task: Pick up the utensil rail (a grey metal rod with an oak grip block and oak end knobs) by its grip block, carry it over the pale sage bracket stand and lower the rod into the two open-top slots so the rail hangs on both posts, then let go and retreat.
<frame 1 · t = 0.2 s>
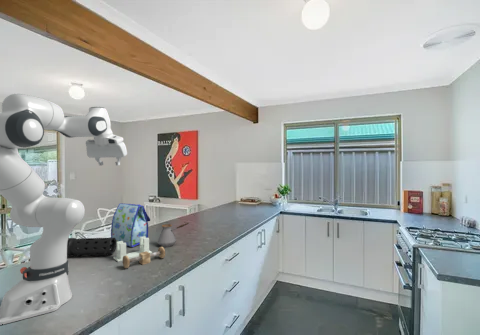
hand: (109, 165, 132), 52 cm above the counter, tool tilted 20°, fingers open, 8 cm apart
lunch bag: (130, 243, 168), on the counter
rail: (144, 262, 132), on the counter
brackets: (133, 255, 143), on the counter
black foam roller: (88, 256, 144), on the counter
coffee pot: (174, 245, 161), on the counter
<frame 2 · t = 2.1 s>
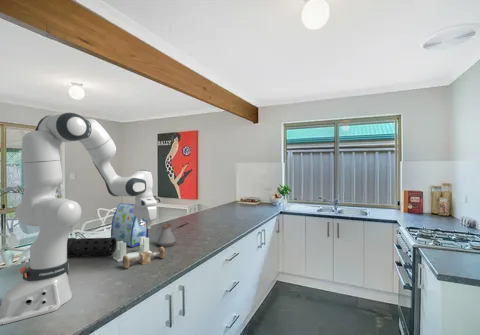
hand: (144, 226, 132), 19 cm above the counter, tool pointing down, fingers open, 8 cm apart
nothing on the counter moved.
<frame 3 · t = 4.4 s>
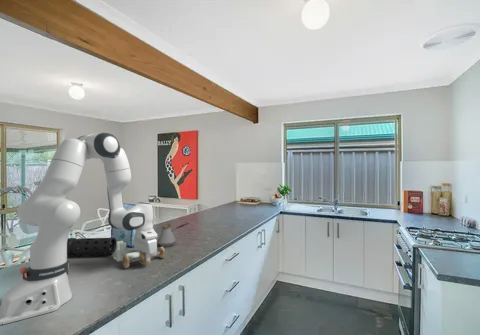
hand: (144, 259, 132), 2 cm above the counter, tool pointing down, fingers closed on rail, 4 cm apart
rail: (144, 262, 132), on the counter, touching gripper
everything else where it was.
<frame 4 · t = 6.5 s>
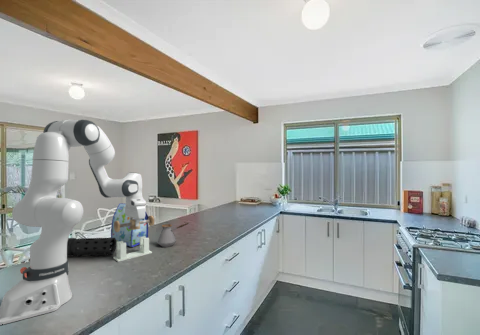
hand: (134, 225, 142), 18 cm above the counter, tool pointing down, fingers closed on rail, 4 cm apart
rail: (134, 228, 142), point 16 cm above the counter, touching gripper
everything else where it was.
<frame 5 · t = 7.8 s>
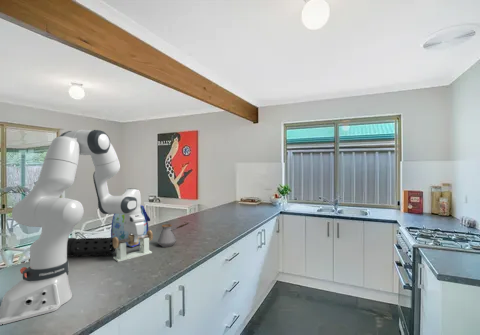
hand: (133, 240, 143), 8 cm above the counter, tool pointing down, fingers closed on rail, 4 cm apart
rail: (133, 244, 143), point 7 cm above the counter, touching gripper
everything else where it was.
when the fingers open (6 cm above the counter, at t = 8.7 s): rail stays where it is, resting on brackets.
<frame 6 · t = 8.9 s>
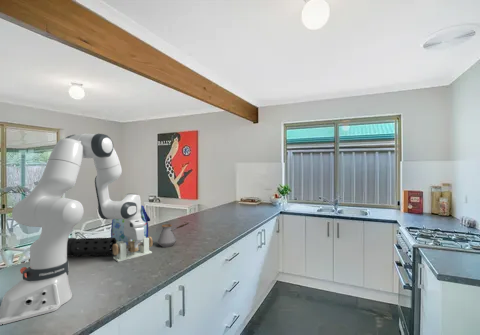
hand: (133, 246, 143), 6 cm above the counter, tool pointing down, fingers open, 6 cm apart
rail: (133, 250, 143), point 3 cm above the counter, touching brackets
everything else where it was.
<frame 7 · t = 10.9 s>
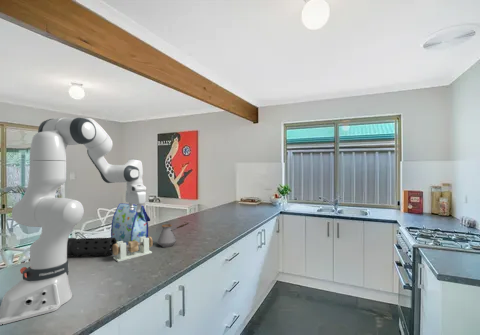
hand: (135, 211, 145), 25 cm above the counter, tool pointing down, fingers open, 8 cm apart
nothing on the counter moved.
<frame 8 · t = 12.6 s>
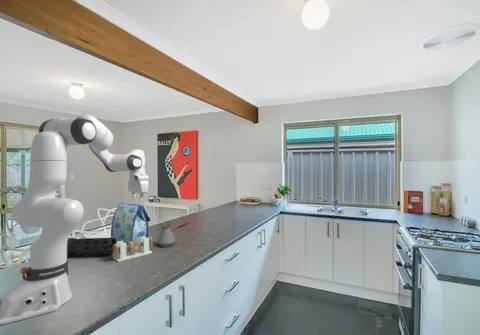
hand: (137, 200, 148), 31 cm above the counter, tool pointing down, fingers open, 8 cm apart
nothing on the counter moved.
at the end: rail 0.1 cm off-centre on the brackets, point 2.9 cm above the brackets's base; rail touching brackets; the gripper is holding nothing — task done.
